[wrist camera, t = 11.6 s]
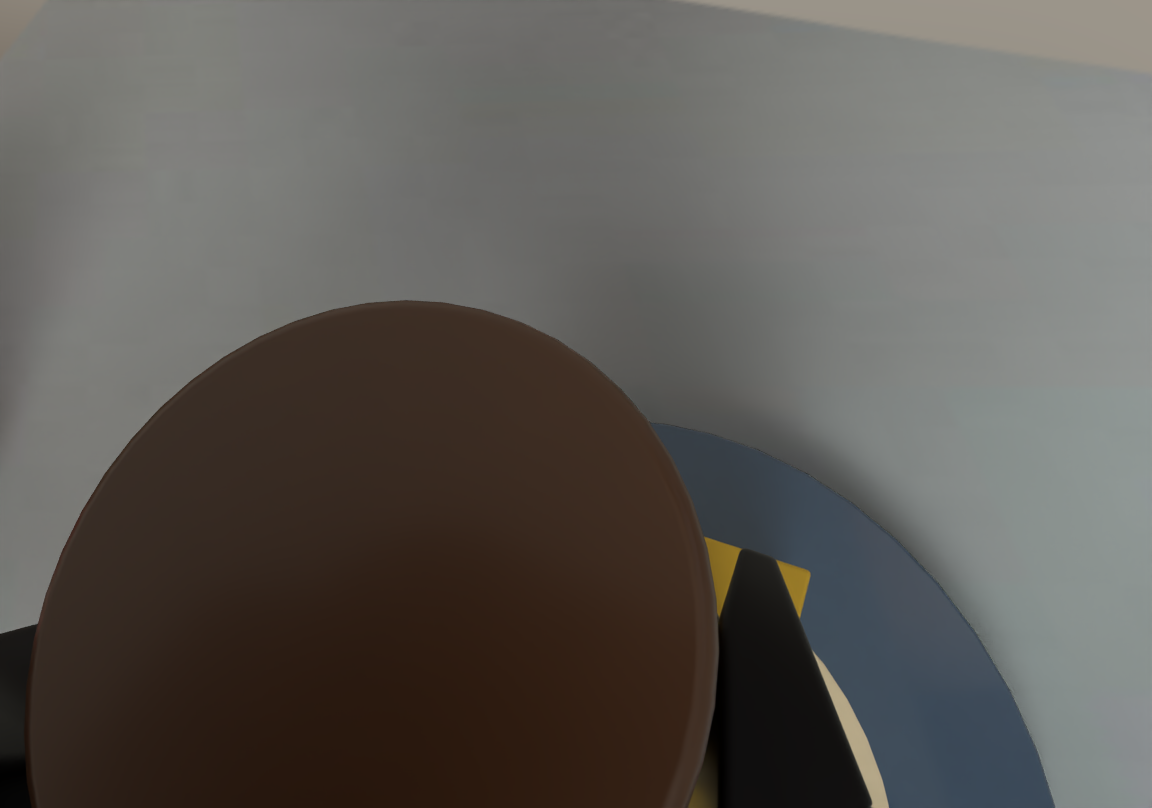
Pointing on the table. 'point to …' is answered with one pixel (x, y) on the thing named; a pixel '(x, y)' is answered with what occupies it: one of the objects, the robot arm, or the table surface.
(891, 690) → the plate
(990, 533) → the table surface
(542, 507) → the sponge wand
